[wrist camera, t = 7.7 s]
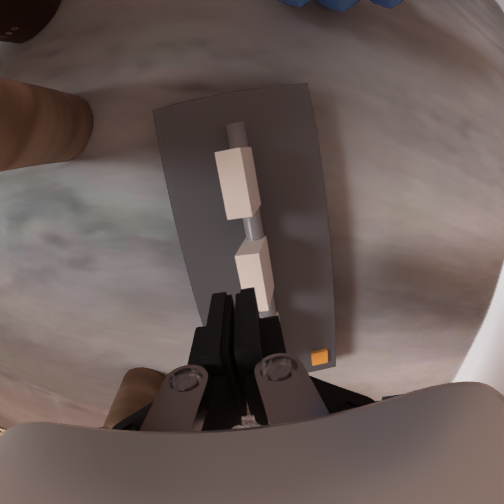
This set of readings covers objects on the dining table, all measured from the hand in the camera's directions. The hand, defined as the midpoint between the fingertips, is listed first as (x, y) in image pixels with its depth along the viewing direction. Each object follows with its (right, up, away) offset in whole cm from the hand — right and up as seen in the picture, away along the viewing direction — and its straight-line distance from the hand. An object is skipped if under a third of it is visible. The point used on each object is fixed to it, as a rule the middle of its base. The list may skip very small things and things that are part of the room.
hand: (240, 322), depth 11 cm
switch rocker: (+1, +2, +5) cm, 6 cm away
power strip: (+1, +3, +8) cm, 9 cm away
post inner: (-13, +12, +5) cm, 18 cm away
